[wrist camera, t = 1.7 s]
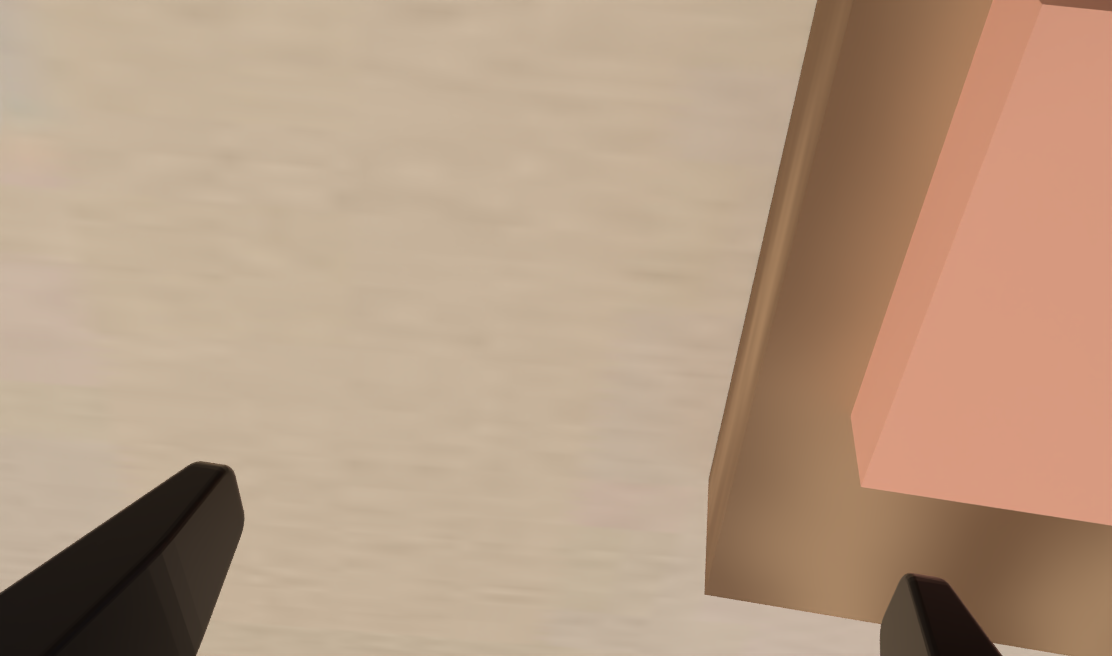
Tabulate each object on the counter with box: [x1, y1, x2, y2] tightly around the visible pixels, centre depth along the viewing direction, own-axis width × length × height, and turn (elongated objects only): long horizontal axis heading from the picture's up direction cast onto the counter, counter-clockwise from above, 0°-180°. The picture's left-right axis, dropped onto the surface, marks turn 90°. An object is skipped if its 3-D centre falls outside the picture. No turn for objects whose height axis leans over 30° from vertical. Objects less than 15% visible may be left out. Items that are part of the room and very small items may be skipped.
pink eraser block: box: [851, 0, 1112, 526], centre depth 15 cm, size 6×9×2 cm, turn 177°
